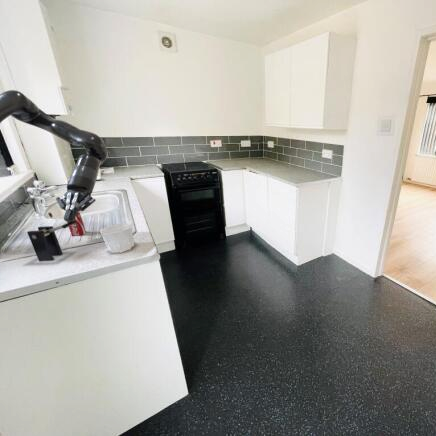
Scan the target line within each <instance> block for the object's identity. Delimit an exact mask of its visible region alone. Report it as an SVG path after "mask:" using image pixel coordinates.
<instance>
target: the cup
mask: <svg viewBox="0 0 436 436" xmlns="http://www.w3.org/2000/svg"><path fill="white" fill-rule="evenodd" d="M99 232H100V234H101V237H102V239H103V241H104V243H105V246H106V248H107V251H108V252H111V254H115V253H116V254H117V253H123V252H126V251H129V250H131V249H132V247H135V241H134V234H133V227H132V224H130V223H116V224H111V225H108V226H105V227H103V228H102V229H100V231H99Z"/></svg>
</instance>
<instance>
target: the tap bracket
mask: <svg viewBox="0 0 436 436" xmlns="http://www.w3.org/2000/svg"><path fill="white" fill-rule="evenodd" d="M52 228H54V226H52V225H50V226H49V225H48V226H46V225H45V226H38V227H37V230H27V232H26V233H27V236H28V238H29V240H30V243H31V245H32V248H33V250H34V252H35V255H36V256H37V259H38V262H52V261H54V260H55V258H54V257H55V256H56V257H57V256H59V257H60V256H61V257H62V256H63V255H64V253H63V250H62V248H61V245H60V242H59V240H58V238H57V237H58V236H57V235H56V231H53V232H50V234H49V235H47V236H45V235H44V233H43V231H40V230H43V229H47V230H49V229H52Z"/></svg>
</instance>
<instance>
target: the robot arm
mask: <svg viewBox="0 0 436 436" xmlns="http://www.w3.org/2000/svg"><path fill="white" fill-rule="evenodd" d="M9 117H12V118H14V119H16V120H17V121H20V122H21V123H24V124H27V125H30V126H34V127H36V128H39V129H40V130H44V131H46V132H48V133H50V134H51V135H53V136H55V137H57V138H59V139H61V140H63V141H65V142H66V143H68V144H70V145H73V146H77V147H80V146H82V147H83V148H84V149H85V152H86V154H81V155H80V156H79V157H78V159H77V161H76V163H75V166H74V168H73V170H72V172H71V173H70V177H69V179H68V182H67V184H66V191H65V193H64V194H63V196H61V197H60V196H57V197H56V198H55V201H56V203H57V204H58V206H59V207H60V209H61V210H62V211H65V212H66V213H65V212H64V215H63V221H65V222H66V223H67V222H73V220H75V217H76V215H77V213H78V212H79V213H80V212H84V211H86V209H87V208H89V207H90V206H91V205H93V204H94V203H95V202H96V199H95V198H94V197H92V194H93V191H94V189H95V185H96V182H97V179H98V175H99V172H100V167H101V166H102V165H103V163H104V162H105V161H106V159H107V157H108V154H109V150H108V148H107V146H106V144H105V141H104V140H103V139H102V137H101V136H99V135H98V134H97V133H94V132H91V131H88V130H84V129H80V128H79V127H77V126H75V125H73V124H72V123H69V122H67V121H65V120H62V119H57V118H55V117H52V116H50V115H49V114H47V113H46V112H45V111H44V110H42V109H41V108H40V107H39V106H38V105H37V104H35V103H34V101H32V100H31V99H30V98H29V97H27V95H25V94H24V93H23V92H21V91H19V90H15V89H12V90H11V89H10V90H6V91H3V92H1V93H0V124H1V123H2V122H4V120H6V119H7V118H9Z"/></svg>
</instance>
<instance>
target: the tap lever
mask: <svg viewBox="0 0 436 436" xmlns="http://www.w3.org/2000/svg"><path fill="white" fill-rule="evenodd" d="M75 223H76V221H75V220H74V221H73V222H69V223H67V222H66V223H63V224H61V225H59V226H55V227H53V228H52V229H49V230H47V229H43V230H40V231H43V233H44V235H45V236H47V235H49V234H50V232H53V231H54V232H56V231H60V230H62V229H66V228H69V226H71V225H73V224H75Z"/></svg>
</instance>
